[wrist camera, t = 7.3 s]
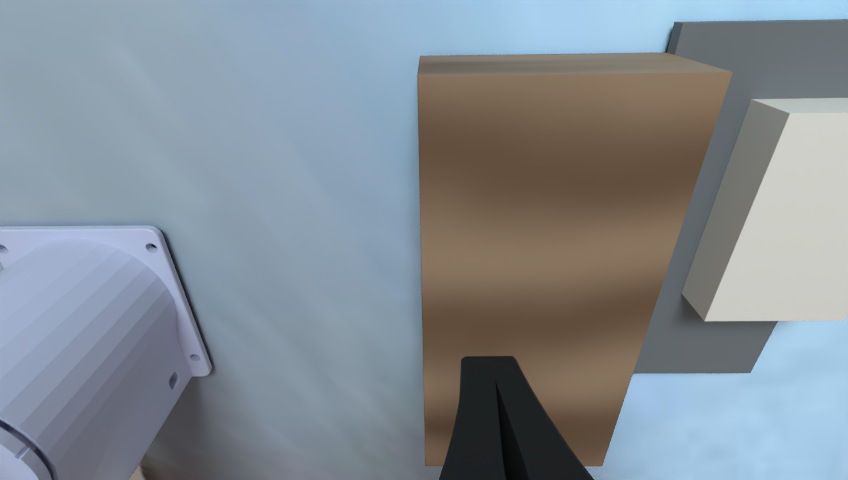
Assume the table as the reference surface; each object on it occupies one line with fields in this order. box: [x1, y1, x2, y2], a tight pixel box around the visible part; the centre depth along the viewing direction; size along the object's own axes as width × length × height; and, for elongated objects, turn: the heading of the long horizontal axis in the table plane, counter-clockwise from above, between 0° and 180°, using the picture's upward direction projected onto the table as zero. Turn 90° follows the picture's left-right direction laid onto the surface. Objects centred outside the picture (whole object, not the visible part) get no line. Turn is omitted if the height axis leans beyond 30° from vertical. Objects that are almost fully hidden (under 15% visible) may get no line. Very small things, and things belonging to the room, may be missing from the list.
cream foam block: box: [682, 98, 848, 321], centre depth 17 cm, size 9×6×2 cm, turn 1°
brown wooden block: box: [417, 53, 733, 466], centre depth 19 cm, size 19×9×4 cm, turn 1°
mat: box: [633, 19, 848, 373], centre depth 19 cm, size 17×8×1 cm, turn 1°
